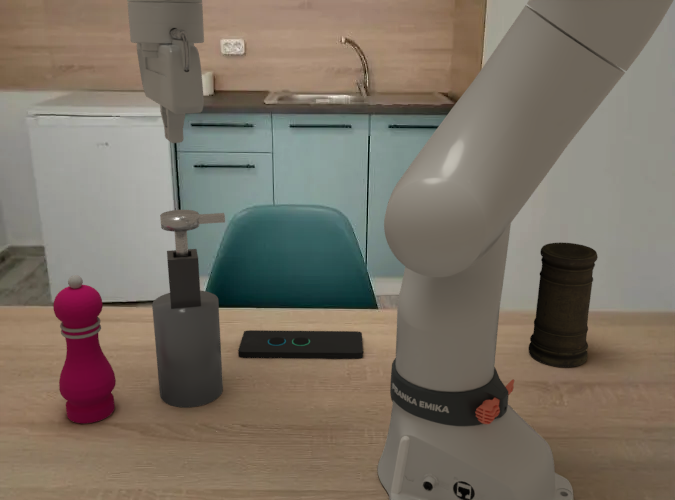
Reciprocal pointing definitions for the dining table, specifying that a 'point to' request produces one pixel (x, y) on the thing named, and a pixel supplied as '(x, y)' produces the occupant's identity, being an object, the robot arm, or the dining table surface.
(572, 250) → the container
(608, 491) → the dining table surface
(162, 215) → the pump head
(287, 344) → the smart home device
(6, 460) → the dining table surface
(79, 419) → the pepper mill
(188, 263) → the dispenser
